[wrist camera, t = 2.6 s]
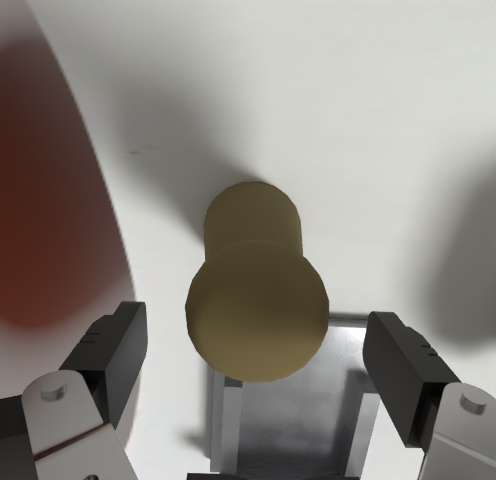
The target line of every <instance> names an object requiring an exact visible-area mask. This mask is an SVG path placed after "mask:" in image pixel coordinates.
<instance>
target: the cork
mask: <svg viewBox="0 0 496 480" xmlns="http://www.w3.org/2000/svg"><path fill="white" fill-rule="evenodd" d="M204 241H205V262H204V264H203V265H202V266H201V268H200V269H199V271H198V272H197V274H196V275H195V277H194V278H193V280H192V282H191V285H190V288H189V292H188V296H187V300H186V304H185V312H186V321H187V329H188V335H189V337H190V339H191V341H192V343H193V345H194V347H195V349H196V351H197V352H198V353H199V354H200V356H201V357H202V358H203V359H204V360H205V361H206V362H207V363H208V364H209V365H210V366H211V367H212V368H213V369H214V370H216V371H218V372H220V373H222V374H224V375H226V376H227V377H229V378H231V379H235V380H240V381H244V382H249V383H258V382H272V381H275V380H278V379H282V378H285V377H288V376H290V375H292V374H293V373H295V372H296V371H298V370H300V369H301V368H303V367H304V366H305V365H306V364H307V363H308V362H309V361H310V360H311V358H312V357H313V356H314V355H315V354H316V353H317V351H318V350H319V349H320V347H321V345H322V342H323V340H324V338H325V335H326V333H327V331H328V320H329V299H328V296H327V293H326V290H325V287H324V284H323V281H322V279H321V277H320V275H319V274H318V273H317V271H316V270H315V269H314V268H313V266H312V265H311V264H310V262H309V261H308V260H307V259H306V258H305V257H303V248H302V234H301V221H300V218H299V215H298V212H297V209H296V206H295V205H294V204H293V202H292V201H291V200H290V198H289V197H288V196H287V195H286V194H285V193H283V192H282V191H280V190H279V189H277V188H276V187H274V186H271V185H268V184H264V183H261V182H244V183H240V184H237V185H235V186H232V187H229V188H227V189H226V190H225V191H223V192H222V193H221V194H220V195H218V196H217V197H216V198H215V199H214V201H213V202H212V204H211V206H210V207H209V209H208V210H207V214H206V218H205V222H204Z"/></svg>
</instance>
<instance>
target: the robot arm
mask: <svg viewBox="0 0 496 480" xmlns="http://www.w3.org/2000/svg"><path fill="white" fill-rule="evenodd" d="M147 344H148V337H147V317H146V305H145V302H134V301H122V302H121V303H120V305H119V306H118V308H117V309H116V311H115V312H114V314H113V315H104V316H102V317H101V318H99V319H98V320H96V321H95V322H93V323H92V325H91V326H90V327H89V329H88V330H87V331H86V334H85V335H84V336H83V337H82V338H81V340H80V342H79V343H78V344H77V345H76V347H75V348H74V349H73V350H72V352H71V353H70V355H69V356H68V357H67V359H66V360H65V361H64V363H63V364H62V366H61V367H60V368H59V370H58V371H54V372H50V373H48V374H45V375H43V376H41V377H39V378H37V379H35V380H34V381H33V382H32V383H30V384H29V385H28V386H27V387H26V389H25V390H24V392H23V394H22V395H18V396H13V397H9V398H3V399H0V480H138V478H137V476H136V474H135V472H134V470H133V468H132V466H131V463H130V461H129V459H128V457H127V455H126V453H125V451H124V449H123V447H122V445H121V443H120V440H119V438H118V436H117V434H116V432H115V430H116V428H117V425H118V423H119V420H120V418H121V415H122V413H123V410H124V408H125V405H126V403H127V401H128V398H129V395H130V393H131V391H132V388H133V386H134V384H135V381H136V379H137V376H138V374H139V371H140V369H141V366H142V364H143V361H144V359H145V356H146V352H147ZM362 357H363V362H364V366H365V368H366V370H367V372H368V374H369V376H370V378H371V380H372V382H373V384H374V386H375V388H376V390H377V392H378V394H379V396H380V398H381V400H382V402H383V404H384V406H385V408H386V410H387V412H388V414H389V416H390V418H391V420H392V422H393V424H394V426H395V428H396V430H397V432H398V434H399V436H400V438H401V440H402V442H403V443H404V445H405V447H406V448H422V450H423V452H424V453H425V454H424V457H423V460H422V464H421V468H420V471H419V475H418V479H417V480H496V399H495V398H494V397H493V396H491V395H490V394H488V393H487V392H485V391H484V390H482V389H480V388H478V387H475V386H472V385H469V384H466V383H462V382H461V381H460V380H459V378H458V377H457V376H456V375H455V374H454V373H453V371H452V370H451V369H450V368H449V367H448V365H447V364H446V363H445V362H444V361H443V359H442V358H441V357H440V356H438V354H437V352H436V351H435V350H434V349H433V348H431V345H430V344H429V343H428V342H427V340H426V339H425V338H424V337H423V336H422V335H421V334H419V333H418V332H416V331H415V330H413V329H412V328H410V327H406V326H405V325H404V324H403V323H402V321H401V320H400V319H399V318H398V316H397V315H396V314H395V313H394V312H377V311H372V312H371V313H370V314H369V318H368V323H367V328H366V333H365V338H364V343H363V349H362ZM186 480H249V479H246V478H242V477H239V476H235V475H232V474H204V473H187V479H186ZM304 480H360V478H359V477H340V476H315V477H312V478H308V479H304Z"/></svg>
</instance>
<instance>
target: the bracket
mask: <svg viewBox="0 0 496 480" xmlns="http://www.w3.org/2000/svg"><path fill="white" fill-rule="evenodd" d="M367 323H368V320H357V319H338V318H329V320H328V331H327V333H326V335H325V338H324V340H323V342H322V345H321V347H320V349H319V350H318V351H317V353H316V354H315V355H314V356H313V357H312V358H311V360H310V361H309V362H308V363H307V364H306V365H305V366H304V367H303V368H301V369H300V370H298V371H296V372H295V373H293V374H292V375H290V376H288V377H285V378H282V379H278V380H275V381H272V382H258V383H249V382H244V381H240V380H235V379H231V378H229V377H227V376H226V375H224V374H222V373H220V372H218V371H216V370H214V380H213V407H212V434H211V461H210V472H220V474H232V475H235V476H239V477H242V478H246V479H249V480H304V479H308V478H312V477H315V476H340V477H359V478H361V474H362V470H363V466H364V462H365V459H366V455H367V451H368V447H369V443H370V439H371V435H372V431H373V427H374V423H375V419H376V415H377V411H378V407H379V403H380V399H381V398H380V396H379V394H378V392H377V390H376V388H375V386H374V384H373V382H372V380H371V378H370V376H369V374H368V372H367V370H366V368H365V366H364V362H363V357H362V349H363V343H364V338H365V333H366V328H367Z"/></svg>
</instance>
